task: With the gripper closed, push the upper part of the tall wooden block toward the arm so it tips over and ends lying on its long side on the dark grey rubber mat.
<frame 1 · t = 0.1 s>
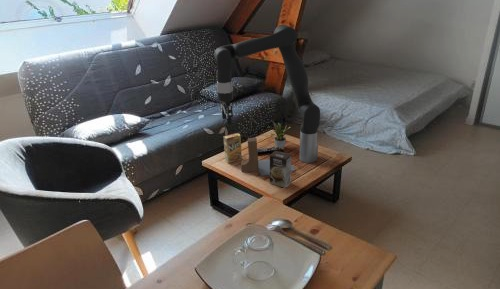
hand: (226, 121, 178), 29 cm above the table, tool pointing down, fingers open, 8 cm apart
house plant: (277, 147, 216), on the table
candy box: (233, 160, 203), on the table
wooden block: (250, 170, 192), on the table, touching slate rubber mat
slate rubber mat: (274, 166, 195), on the table
coffee box: (280, 183, 180), on the table
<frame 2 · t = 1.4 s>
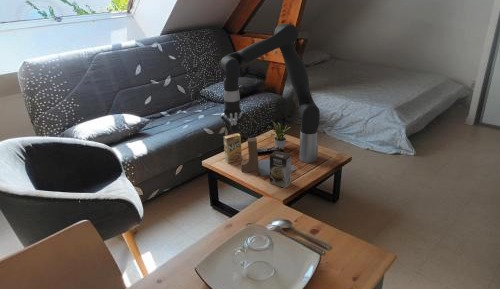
hand: (233, 131, 180), 24 cm above the table, tool pointing down, fingers closed
nothing on the table moved.
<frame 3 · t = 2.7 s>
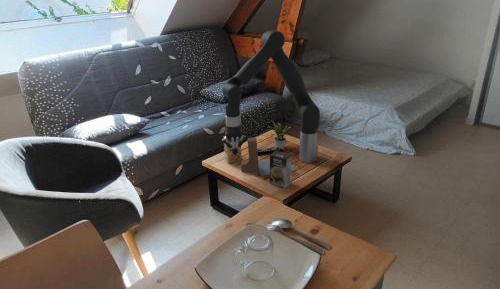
hand: (235, 154, 186), 11 cm above the table, tool pointing down, fingers closed
nothing on the table moved.
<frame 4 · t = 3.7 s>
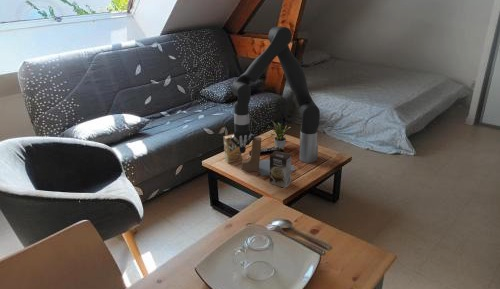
hand: (242, 152, 186), 11 cm above the table, tool pointing down, fingers closed
wooden block: (250, 169, 192), point 1 cm above the table, touching hand, slate rubber mat
everything else where it was.
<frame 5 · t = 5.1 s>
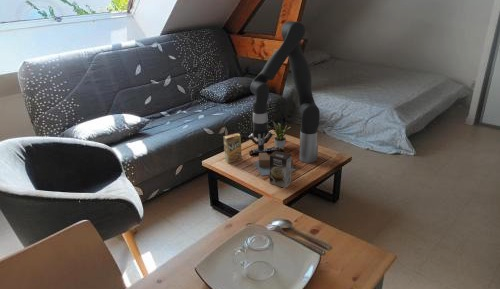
hand: (261, 150, 189), 11 cm above the table, tool pointing down, fingers closed
wooden block: (258, 159, 197), point 3 cm above the table, touching slate rubber mat
everything else where it was.
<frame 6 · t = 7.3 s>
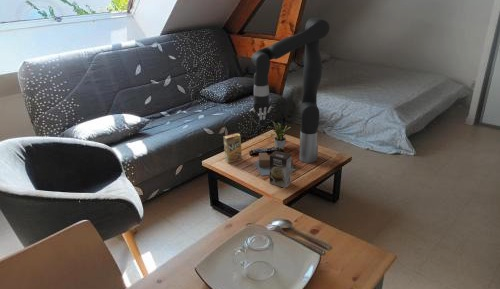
hand: (262, 125, 183), 25 cm above the table, tool pointing down, fingers closed
nothing on the table moved.
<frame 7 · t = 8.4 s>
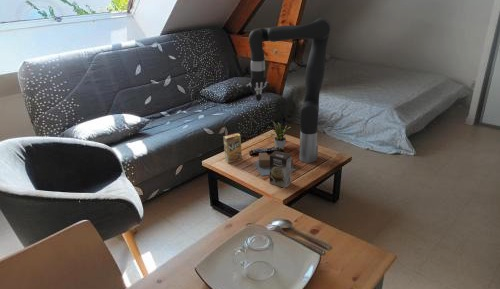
hand: (258, 100, 194), 33 cm above the table, tool pointing down, fingers closed
nothing on the table moved.
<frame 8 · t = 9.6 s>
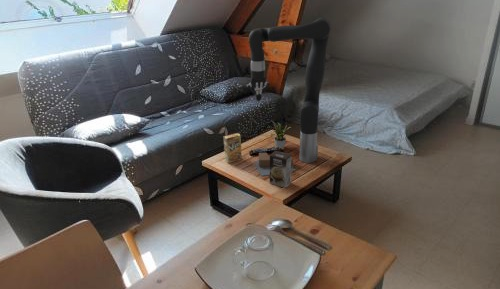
hand: (258, 100, 194), 33 cm above the table, tool pointing down, fingers closed
nothing on the table moved.
at the end: wooden block tilted 90°; wooden block touching slate rubber mat; wooden block inside the target area (6.5 cm from its centre), point 2.7 cm above the table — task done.
